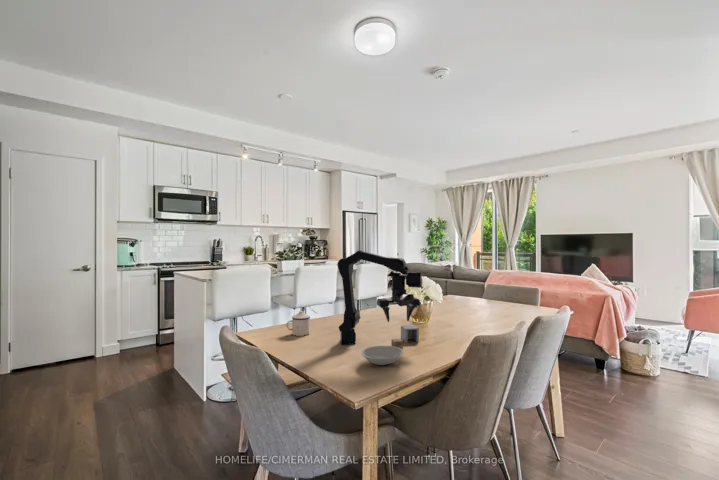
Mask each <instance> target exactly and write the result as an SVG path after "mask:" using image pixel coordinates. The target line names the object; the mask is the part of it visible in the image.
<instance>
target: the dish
mask: <svg viewBox="0 0 719 480" xmlns="http://www.w3.org/2000/svg"><path fill="white" fill-rule="evenodd" d="M404 352H405V351H404V348H403V349H401V348H399V347H395V346H391V345H375V346H370V347H369V346H368V347H367V348H364V349H363V350H361V352H360V354H361V356H362V357H364V359H366V360H367V361H368V362H370V363H372V364H375V365H380V366H385V365H388V364H392V363H394V362H395V361H397V360H398V359H400V357H401V356H402V355H403V354H404Z"/></svg>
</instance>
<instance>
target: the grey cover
mask: <svg viewBox="0 0 719 480" xmlns="http://www.w3.org/2000/svg"><path fill="white" fill-rule="evenodd" d="M419 329H420V328H419V327H418V326H417V325H415V324H405V325H404V324H403V325H400V339H401V340H402V341H403V343H406V344H407V343H408V341H409V340H410V339H411V340H413V341H415V342H416V343H419V342H420V336H419V335H420V330H419Z"/></svg>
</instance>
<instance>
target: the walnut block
mask: <svg viewBox="0 0 719 480" xmlns="http://www.w3.org/2000/svg"><path fill="white" fill-rule="evenodd" d="M390 341H391V343H390V344H391V345H390V346H395V347H399V348H401V349H403V350H404V341H403V340H402V339H401V338H391V340H390Z"/></svg>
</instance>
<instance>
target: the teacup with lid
mask: <svg viewBox="0 0 719 480" xmlns="http://www.w3.org/2000/svg"><path fill="white" fill-rule="evenodd" d="M310 322H311V316H310V315H309V314H306V313H305V312H304V311H303V310H299V311H298V313H296V314H293V315H292V317H291V320H289V321H286V326H285V327H286V329H287V330H289V331H292V336H295V335H296V337H305V336H304V335H306V336H308V335H310V334H311V333H310V332H311V331H310V329H311V328H310V325H311V324H310ZM289 323H292V327H291V328H289Z"/></svg>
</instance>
